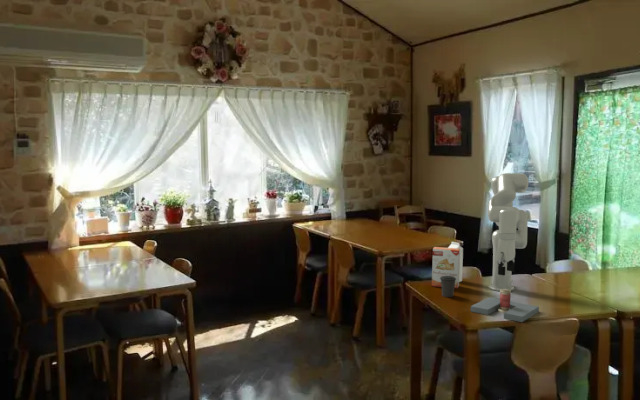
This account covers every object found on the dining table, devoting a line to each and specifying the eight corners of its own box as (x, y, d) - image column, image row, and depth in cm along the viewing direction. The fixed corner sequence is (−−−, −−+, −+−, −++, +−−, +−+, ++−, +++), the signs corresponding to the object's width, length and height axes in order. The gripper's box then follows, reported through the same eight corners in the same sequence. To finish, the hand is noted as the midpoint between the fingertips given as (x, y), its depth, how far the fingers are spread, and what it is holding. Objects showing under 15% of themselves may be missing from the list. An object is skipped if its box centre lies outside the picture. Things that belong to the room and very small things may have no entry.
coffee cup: (456, 298, 284) (456, 278, 283) (439, 297, 286) (440, 277, 285) (455, 294, 292) (456, 274, 291) (439, 293, 294) (439, 274, 293)
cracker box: (431, 286, 307) (432, 248, 305) (433, 283, 313) (434, 246, 310) (458, 288, 302) (459, 250, 300) (459, 286, 308) (460, 248, 306)
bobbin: (501, 308, 266) (502, 288, 265) (513, 311, 263) (514, 290, 261) (496, 311, 262) (496, 290, 261) (508, 314, 258) (509, 292, 257)
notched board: (489, 302, 277) (489, 297, 277) (538, 311, 262) (539, 306, 262) (470, 311, 262) (470, 306, 262) (521, 322, 247) (522, 316, 246)
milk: (454, 282, 315) (455, 243, 313) (446, 280, 320) (447, 242, 318) (462, 281, 319) (463, 242, 316) (454, 279, 324) (454, 240, 321)
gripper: (507, 232, 267) (505, 268, 269) (491, 237, 254) (490, 275, 256) (522, 234, 262) (521, 270, 265) (507, 239, 250) (506, 278, 252)
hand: (506, 272), depth 261 cm, fingers open, 9 cm apart
